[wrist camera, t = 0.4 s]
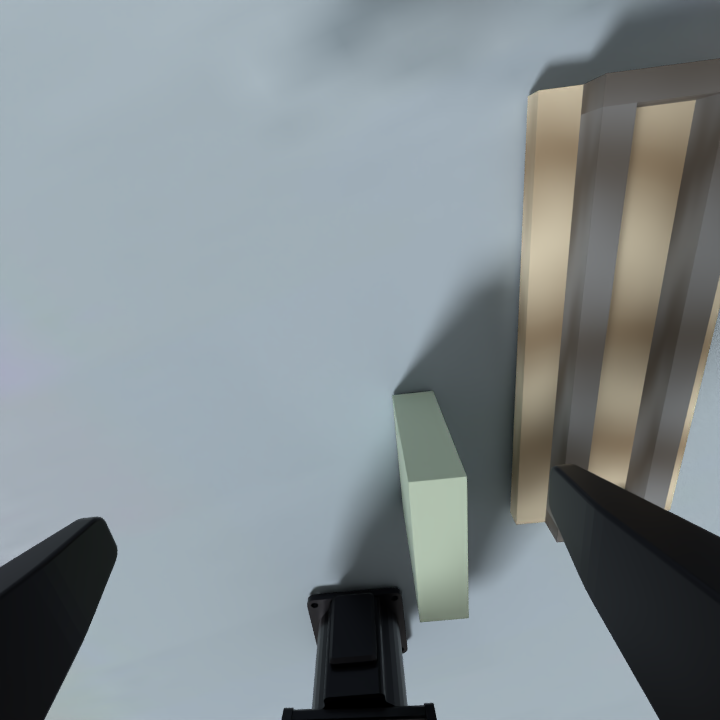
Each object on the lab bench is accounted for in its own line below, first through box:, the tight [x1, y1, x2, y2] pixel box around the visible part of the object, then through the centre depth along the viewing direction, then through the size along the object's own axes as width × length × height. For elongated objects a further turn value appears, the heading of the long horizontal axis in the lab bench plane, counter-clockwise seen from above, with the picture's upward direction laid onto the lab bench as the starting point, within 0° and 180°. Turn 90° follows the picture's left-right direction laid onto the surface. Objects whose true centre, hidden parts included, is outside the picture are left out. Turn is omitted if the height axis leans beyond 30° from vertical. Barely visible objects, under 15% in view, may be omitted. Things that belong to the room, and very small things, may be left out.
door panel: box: [392, 391, 469, 622], centre depth 20 cm, size 8×2×7 cm, turn 7°
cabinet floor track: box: [510, 58, 720, 542], centre depth 19 cm, size 22×9×2 cm, turn 7°
